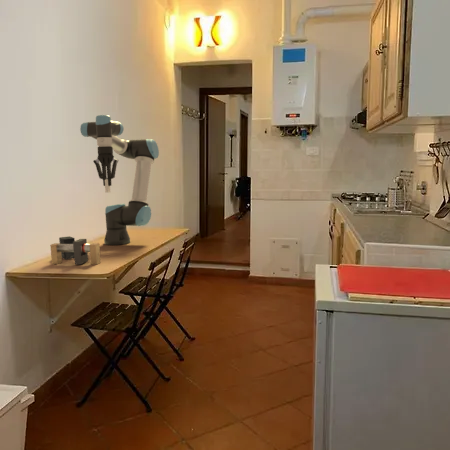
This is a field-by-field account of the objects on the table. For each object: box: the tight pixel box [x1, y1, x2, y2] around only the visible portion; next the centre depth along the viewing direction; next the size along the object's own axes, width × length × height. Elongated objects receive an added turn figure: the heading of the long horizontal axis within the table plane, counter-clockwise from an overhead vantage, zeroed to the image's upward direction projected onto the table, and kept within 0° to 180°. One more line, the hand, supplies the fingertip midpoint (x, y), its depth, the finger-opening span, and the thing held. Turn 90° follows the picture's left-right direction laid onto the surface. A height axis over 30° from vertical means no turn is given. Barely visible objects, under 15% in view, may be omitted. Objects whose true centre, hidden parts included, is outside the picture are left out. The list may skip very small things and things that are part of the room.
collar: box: [73, 238, 89, 265], centre depth 225 cm, size 3×8×11 cm, turn 171°
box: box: [58, 236, 76, 260], centre depth 240 cm, size 8×6×11 cm
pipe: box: [50, 242, 102, 265], centre depth 225 cm, size 23×4×10 cm, turn 81°
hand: (107, 192), depth 244 cm, fingers closed
